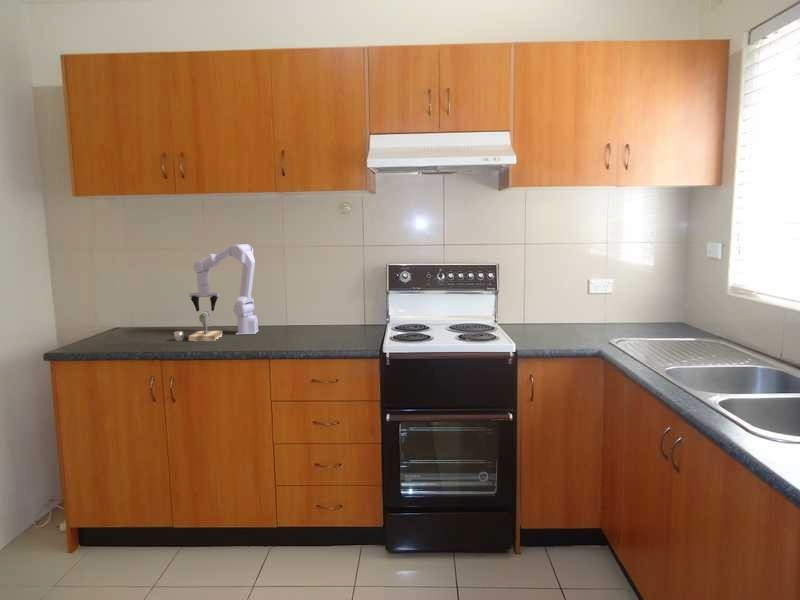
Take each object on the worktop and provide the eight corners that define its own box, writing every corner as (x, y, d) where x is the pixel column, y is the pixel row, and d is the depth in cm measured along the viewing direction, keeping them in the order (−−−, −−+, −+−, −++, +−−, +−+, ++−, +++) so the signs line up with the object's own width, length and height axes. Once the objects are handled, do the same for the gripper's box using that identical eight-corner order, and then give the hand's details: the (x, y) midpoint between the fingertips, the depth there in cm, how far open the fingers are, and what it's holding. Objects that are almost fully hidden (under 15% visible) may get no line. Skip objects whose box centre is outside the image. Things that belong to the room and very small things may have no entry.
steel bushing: (185, 339, 261) (184, 330, 261) (181, 341, 257) (181, 332, 257) (176, 339, 261) (176, 331, 261) (173, 341, 257) (172, 332, 257)
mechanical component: (199, 335, 256) (198, 314, 254) (205, 331, 266) (203, 311, 264) (206, 335, 256) (204, 314, 255) (211, 331, 266) (209, 310, 265)
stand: (222, 335, 267) (222, 330, 267) (214, 340, 255) (214, 335, 255) (197, 336, 267) (197, 331, 267) (188, 341, 255) (188, 336, 255)
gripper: (220, 283, 281) (222, 309, 283) (191, 283, 280) (193, 309, 282) (215, 284, 274) (217, 311, 276) (186, 285, 274) (188, 312, 275)
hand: (205, 310), depth 279 cm, fingers open, 7 cm apart
